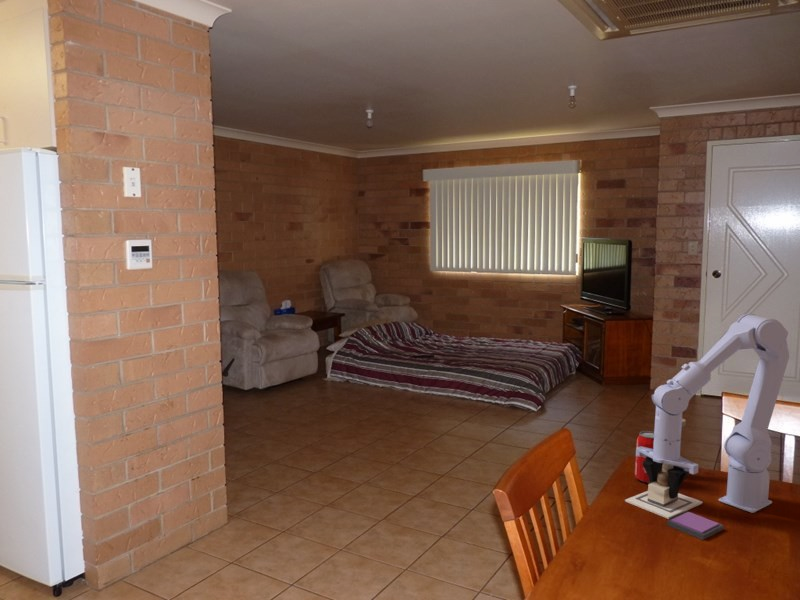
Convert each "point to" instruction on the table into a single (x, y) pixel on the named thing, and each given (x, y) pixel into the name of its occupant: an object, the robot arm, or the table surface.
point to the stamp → (660, 490)
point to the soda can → (645, 441)
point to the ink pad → (695, 525)
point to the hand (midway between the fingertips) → (664, 493)
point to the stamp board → (666, 511)
